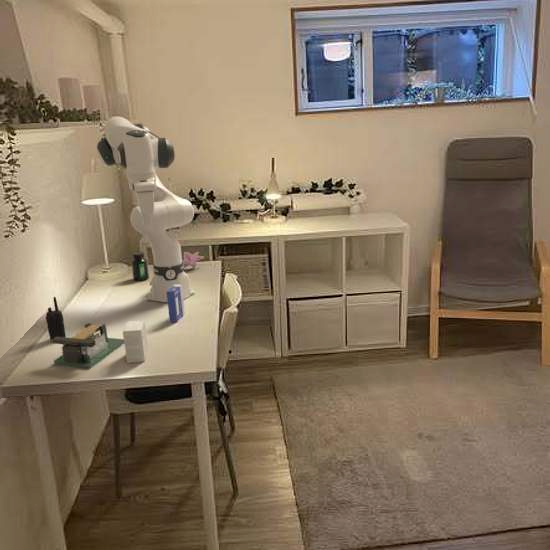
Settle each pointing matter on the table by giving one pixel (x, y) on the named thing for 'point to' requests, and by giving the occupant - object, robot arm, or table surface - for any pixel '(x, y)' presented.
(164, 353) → the table surface
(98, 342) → the board
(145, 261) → the supplement bottle
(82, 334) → the lever
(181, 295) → the walkman
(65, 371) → the table surface
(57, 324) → the two-way radio
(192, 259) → the lily
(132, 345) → the small box
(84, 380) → the table surface
